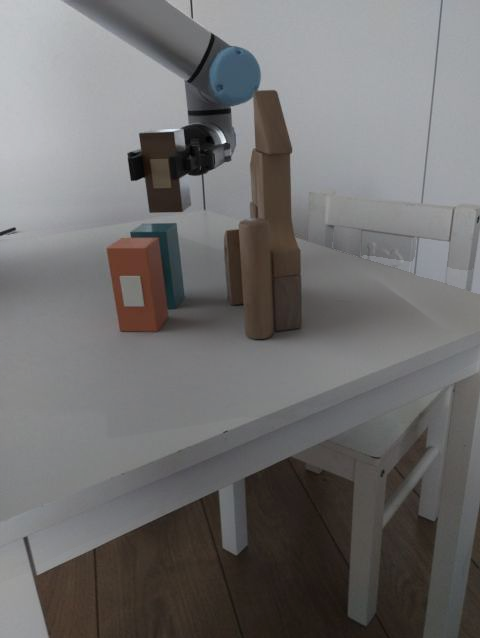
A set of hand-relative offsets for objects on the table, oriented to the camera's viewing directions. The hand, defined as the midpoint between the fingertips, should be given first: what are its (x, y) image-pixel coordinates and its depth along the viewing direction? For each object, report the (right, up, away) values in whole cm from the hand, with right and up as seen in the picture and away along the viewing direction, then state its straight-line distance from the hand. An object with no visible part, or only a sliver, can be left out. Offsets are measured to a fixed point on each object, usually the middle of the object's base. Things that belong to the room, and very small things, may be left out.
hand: (152, 168), depth 70 cm
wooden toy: (+14, -18, 0) cm, 23 cm away
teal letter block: (0, -16, +5) cm, 17 cm away
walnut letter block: (+1, -3, +7) cm, 8 cm away
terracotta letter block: (-1, -19, -2) cm, 19 cm away
